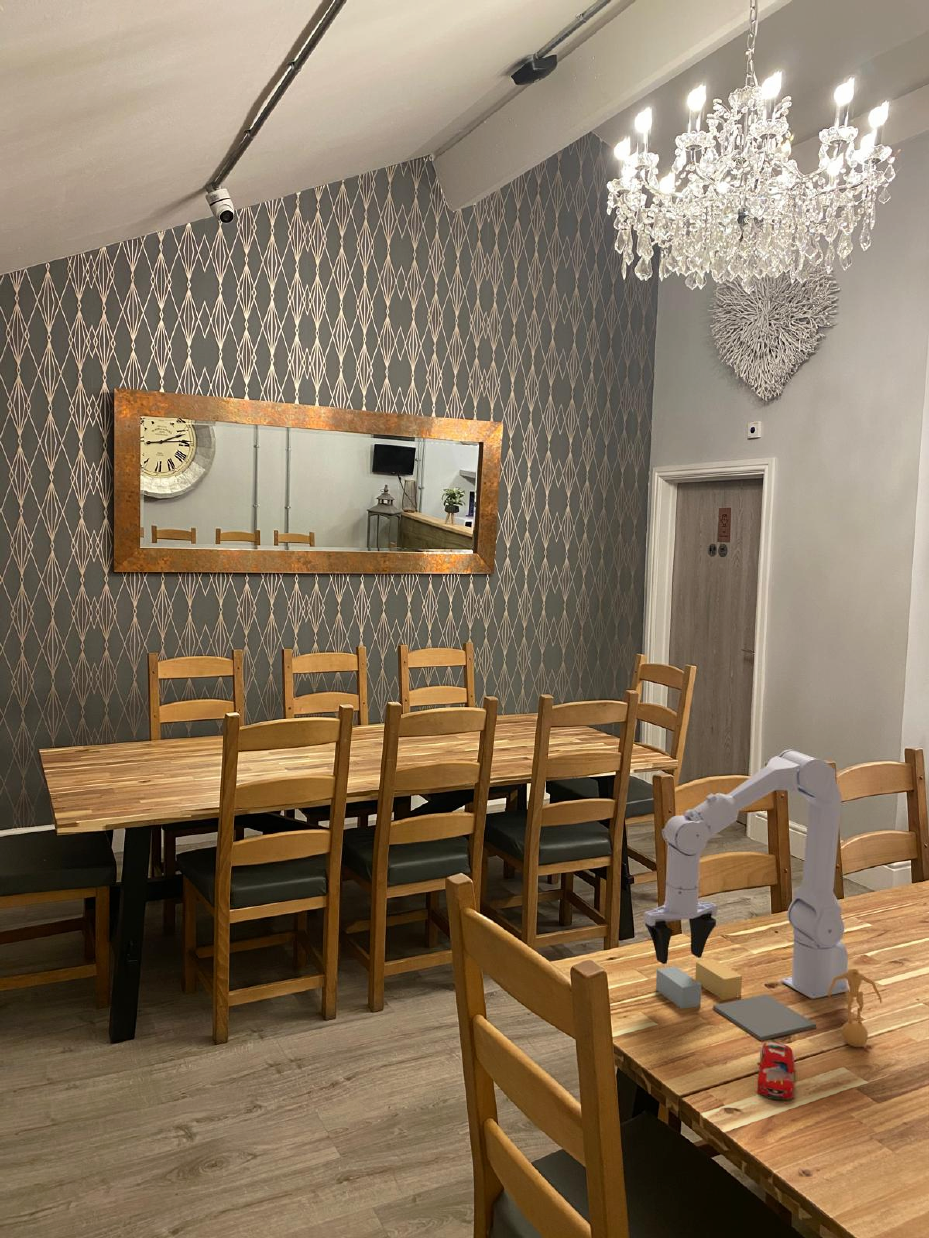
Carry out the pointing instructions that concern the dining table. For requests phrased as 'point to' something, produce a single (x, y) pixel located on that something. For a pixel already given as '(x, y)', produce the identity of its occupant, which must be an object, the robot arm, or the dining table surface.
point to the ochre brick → (718, 979)
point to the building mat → (764, 1017)
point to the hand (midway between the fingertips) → (679, 958)
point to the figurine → (852, 1029)
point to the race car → (776, 1071)
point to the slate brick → (678, 987)
